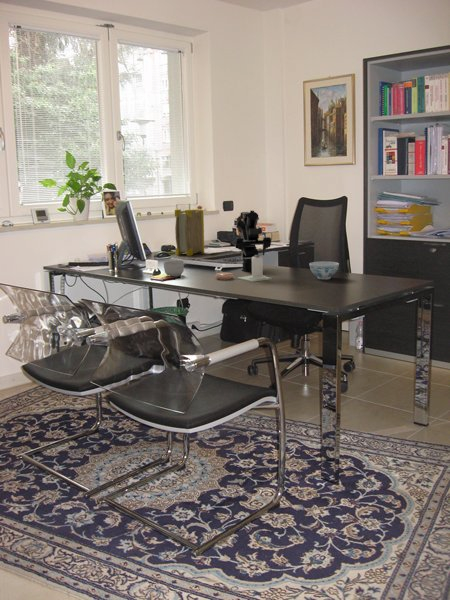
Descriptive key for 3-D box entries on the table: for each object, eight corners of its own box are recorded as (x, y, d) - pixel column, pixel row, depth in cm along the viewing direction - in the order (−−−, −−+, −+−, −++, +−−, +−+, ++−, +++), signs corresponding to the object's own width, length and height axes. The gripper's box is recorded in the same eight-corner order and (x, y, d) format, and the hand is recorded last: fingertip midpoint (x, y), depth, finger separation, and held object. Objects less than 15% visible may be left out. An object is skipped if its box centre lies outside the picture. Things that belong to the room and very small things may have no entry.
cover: (252, 276, 362) (251, 254, 360) (267, 277, 359) (267, 254, 357) (246, 278, 354) (246, 256, 352) (262, 279, 351) (262, 256, 349)
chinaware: (304, 277, 359) (304, 262, 358) (329, 275, 364) (329, 260, 363) (318, 281, 346) (318, 266, 344) (344, 279, 351) (344, 264, 349)
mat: (257, 276, 366) (257, 274, 366) (272, 279, 356) (272, 277, 356) (237, 278, 359) (237, 277, 359) (252, 281, 349) (252, 280, 349)
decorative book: (192, 251, 473) (191, 207, 468) (205, 252, 467) (204, 208, 461) (174, 255, 457) (173, 209, 451) (187, 256, 451) (186, 210, 445)
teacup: (181, 277, 367) (180, 262, 365) (161, 277, 369) (160, 262, 367) (187, 273, 380) (187, 259, 379) (168, 273, 382) (168, 258, 381)
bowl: (226, 276, 366) (226, 271, 366) (236, 278, 359) (236, 274, 359) (212, 278, 362) (212, 273, 361) (222, 280, 354) (222, 275, 354)
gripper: (235, 222, 363) (238, 246, 354) (270, 221, 365) (274, 245, 356) (234, 236, 372) (236, 259, 363) (268, 235, 374) (271, 258, 365)
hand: (254, 255), depth 362 cm, fingers open, 9 cm apart
